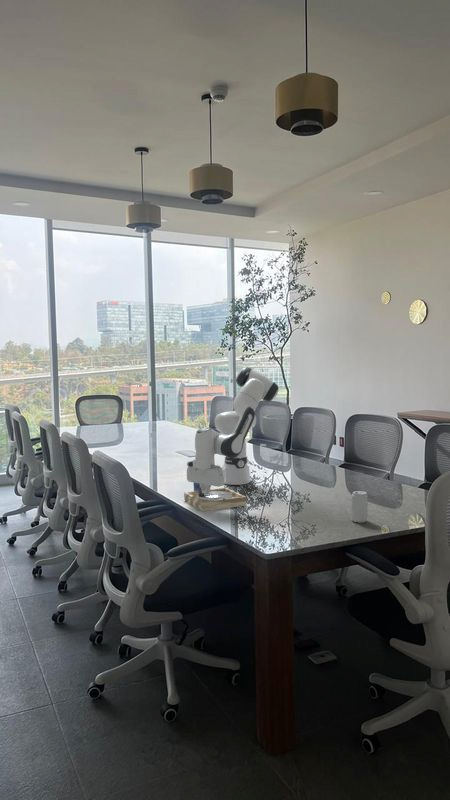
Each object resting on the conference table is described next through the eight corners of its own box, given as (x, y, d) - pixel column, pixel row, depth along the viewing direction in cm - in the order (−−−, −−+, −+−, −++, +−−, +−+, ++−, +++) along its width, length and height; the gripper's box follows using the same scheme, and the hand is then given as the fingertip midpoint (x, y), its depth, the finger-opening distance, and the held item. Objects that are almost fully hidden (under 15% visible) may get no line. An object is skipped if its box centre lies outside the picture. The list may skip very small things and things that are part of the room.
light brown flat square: (184, 500, 281) (184, 491, 280) (226, 495, 290) (226, 487, 290) (201, 511, 261) (201, 501, 261) (246, 505, 270) (246, 496, 270)
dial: (225, 492, 286) (225, 480, 285) (237, 500, 270) (237, 487, 270) (192, 496, 280) (192, 483, 280) (203, 503, 265) (202, 490, 264)
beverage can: (349, 519, 244) (349, 490, 243) (364, 518, 244) (364, 490, 244) (354, 523, 238) (354, 494, 237) (369, 523, 238) (369, 493, 237)
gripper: (226, 465, 265) (227, 495, 266) (193, 460, 278) (194, 489, 279) (217, 467, 260) (217, 498, 261) (184, 462, 273) (184, 491, 274)
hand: (205, 493), depth 270 cm, fingers closed
